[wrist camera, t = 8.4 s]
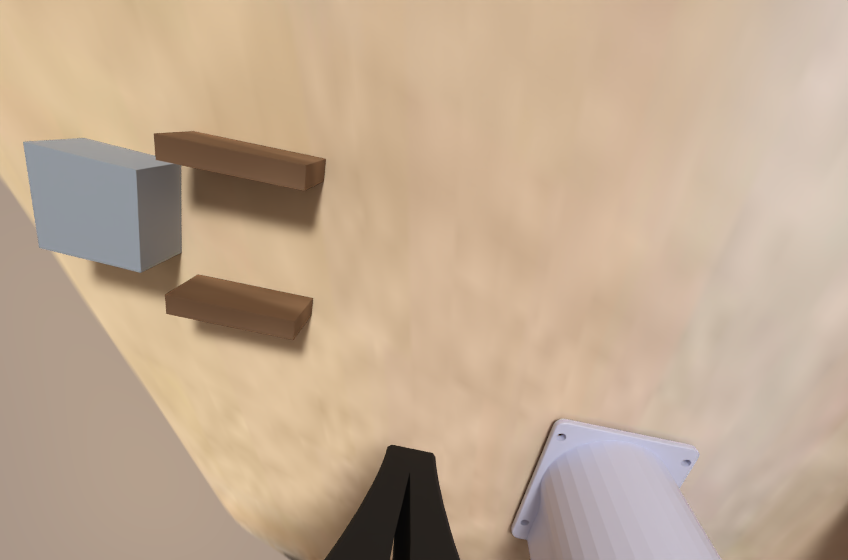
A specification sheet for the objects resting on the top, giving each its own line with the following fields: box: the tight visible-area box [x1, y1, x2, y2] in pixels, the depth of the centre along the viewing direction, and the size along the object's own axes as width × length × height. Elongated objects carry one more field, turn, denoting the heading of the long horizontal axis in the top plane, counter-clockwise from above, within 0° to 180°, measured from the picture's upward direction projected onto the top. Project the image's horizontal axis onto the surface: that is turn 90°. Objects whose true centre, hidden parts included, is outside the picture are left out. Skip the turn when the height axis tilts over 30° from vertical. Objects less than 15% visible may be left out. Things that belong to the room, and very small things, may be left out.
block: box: [23, 138, 182, 273], centre depth 18 cm, size 4×4×3 cm
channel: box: [154, 131, 326, 340], centre depth 18 cm, size 8×6×2 cm
